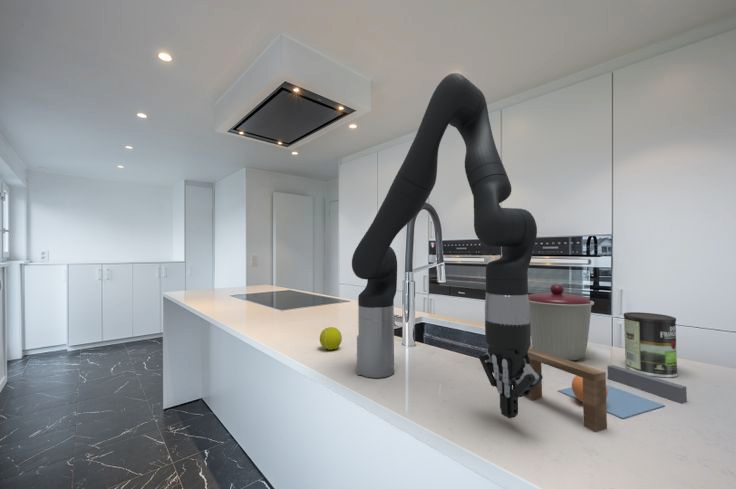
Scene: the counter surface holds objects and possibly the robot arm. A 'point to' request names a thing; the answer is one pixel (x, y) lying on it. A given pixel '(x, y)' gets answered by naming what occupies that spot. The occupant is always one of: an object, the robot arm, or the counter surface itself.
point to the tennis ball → (330, 338)
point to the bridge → (591, 387)
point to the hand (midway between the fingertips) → (508, 415)
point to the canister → (560, 323)
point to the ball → (579, 387)
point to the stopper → (648, 383)
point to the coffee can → (650, 344)
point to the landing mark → (622, 402)
